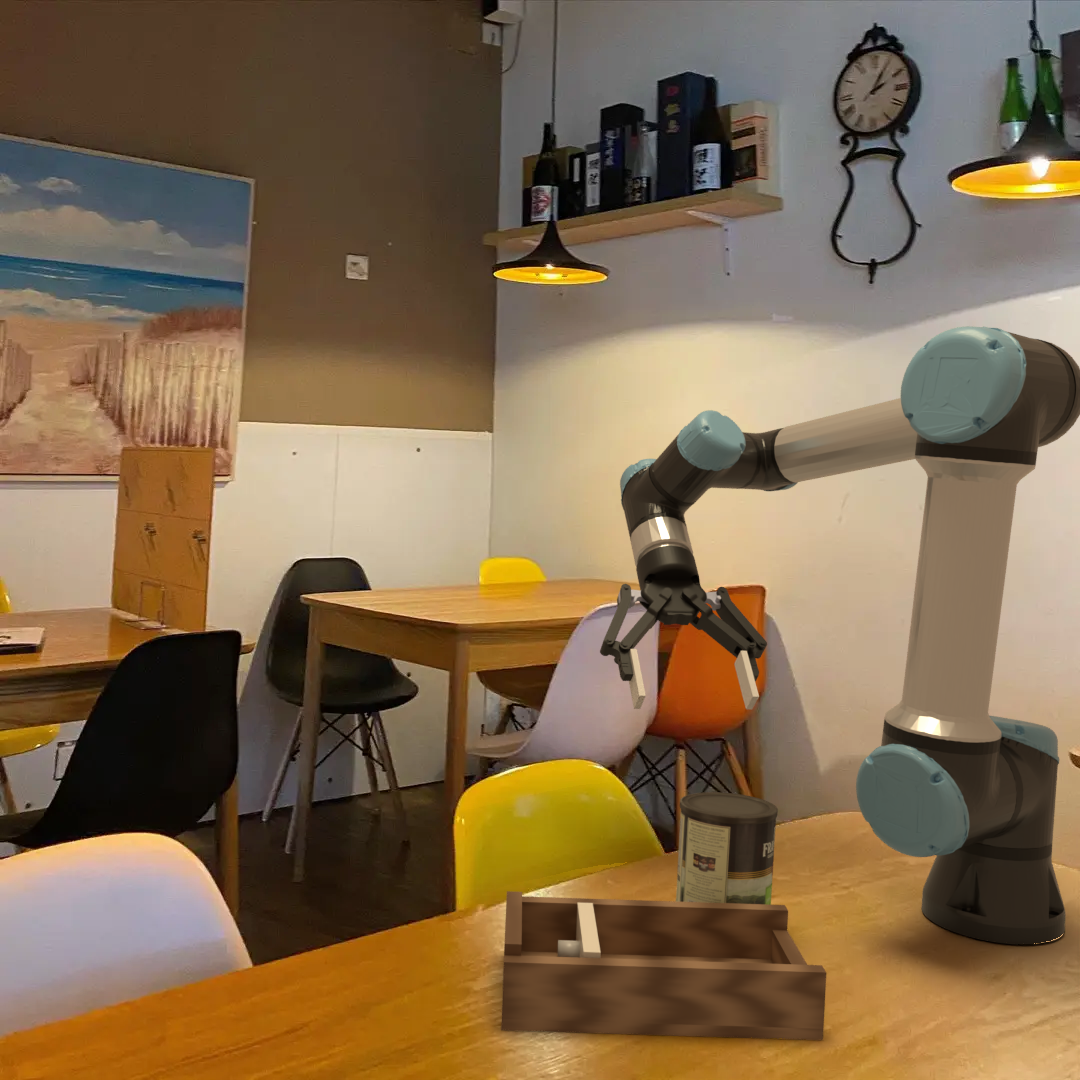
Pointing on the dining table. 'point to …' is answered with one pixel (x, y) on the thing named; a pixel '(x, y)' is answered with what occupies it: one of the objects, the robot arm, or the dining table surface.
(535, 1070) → the dining table surface
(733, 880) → the coffee can
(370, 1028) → the dining table surface
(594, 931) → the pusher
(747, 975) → the wooden tray
